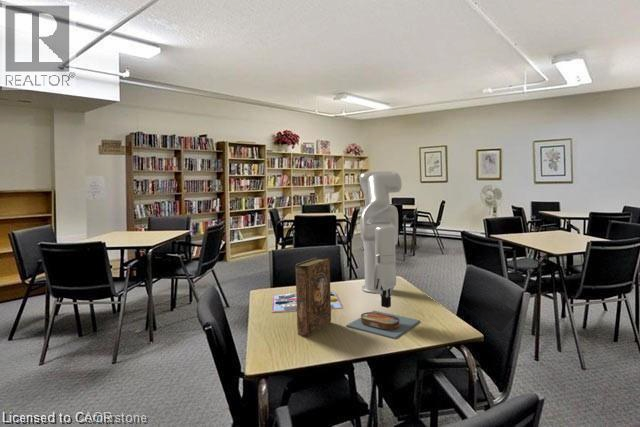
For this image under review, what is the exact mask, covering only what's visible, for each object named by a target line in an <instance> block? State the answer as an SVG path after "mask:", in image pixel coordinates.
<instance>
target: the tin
mask: <svg viewBox="0 0 640 427" xmlns="http://www.w3.org/2000/svg"><path fill="white" fill-rule="evenodd" d="M360 318H361V322H362V323H363V324H364V325H367V326H371V327H375V328H379V329H383V330H394V329H396V328H398V327H399V321H400V320H399V318H397V317H395V316H390V315H386V314H381V313H376V312H372V311H370V312H364V313H361V314H360Z"/></svg>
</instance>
